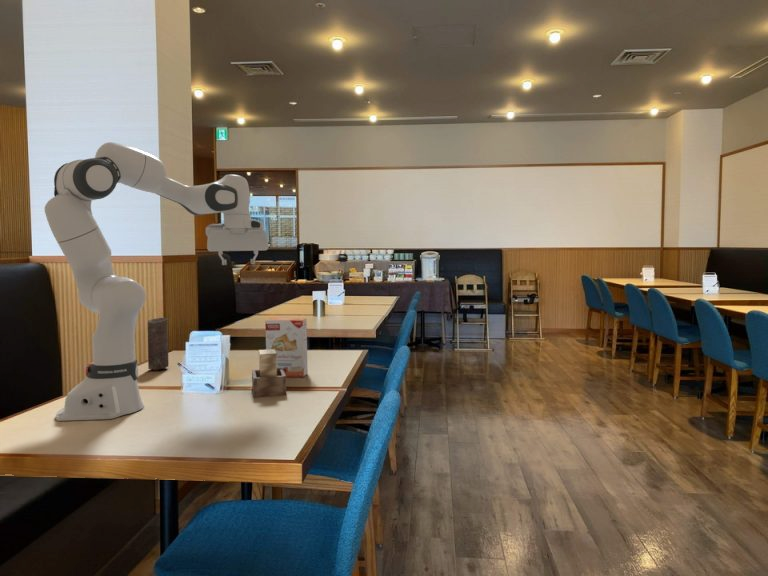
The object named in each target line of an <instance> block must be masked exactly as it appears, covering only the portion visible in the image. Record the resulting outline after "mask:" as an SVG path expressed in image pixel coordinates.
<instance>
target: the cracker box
mask: <svg viewBox="0 0 768 576" xmlns="http://www.w3.org/2000/svg"><path fill="white" fill-rule="evenodd" d="M307 327H308V326H307V318H290V317H289V318H288V317H287V318H286V317H285V318H284V317H283V318H282V317H280V318H278V317H277V318H273V317H271V318H268V319H266V320H265V350H268V349H274V350H275V352H276V367H277V368H282V369H283V371H284V373H285V375H286V378H304V377H305V376H307V375H308V370H309V369H308V336H307V335H308V333H307V332H308V331H307V330H308V329H307Z"/></svg>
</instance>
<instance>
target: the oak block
mask: <svg viewBox="0 0 768 576" xmlns="http://www.w3.org/2000/svg"><path fill="white" fill-rule="evenodd" d="M258 365H259V369H258V370H259V371H260V377H271V376H277V367H276V352H275V350H274V349H268V350H266V349H258Z"/></svg>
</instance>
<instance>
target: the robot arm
mask: <svg viewBox="0 0 768 576" xmlns="http://www.w3.org/2000/svg"><path fill="white" fill-rule="evenodd" d="M53 183H54V188H53V190H54V191H53V195H54V197H52V198H50V199H49V200H48V201H47V202H46V204H45V205H44V214H45V217H46V221H47V224H48V226H49V228H50V230H51V232H52V235H53V237H54V238H55V240H56V242H57V244H58V246H59V248H60V250H61V251H62V253H63V255H64V257H65V258H66V261H67V263H68V264H69V267H70V269H71V270H72V274H73V278H74V280H75V283H76V288H77V298H78V301H79V303H80V304H81V305H82V306H83V307H84V308H85V309H87V310H88V311H90V312H92V313H95V314H98V320H97V325H96V328H95V331H94V333H93V335H92V338H91V344H92V345H91V346H92V362H89V363H88V364H87V365H86V367H85V370H84V371H85V372H84V373H85V376H86V377H85V378H84V379H83V380H82V381H80V382H79V383H78V384H77V385H76V386H74V387H73V388H72V389H71V390H70V391H69V392H68V393H67V394H66V397H65V401H64V407H62V408H61V409H59V410H58V411H57V412H56V414H55V420H56V421H58V422H59V421H60V422H61V421H62V422H65V421H91V420H112V419H116V418H119V417H121V416H125V415H128V414H133V413H135V412H138V411H140V410H142V409H143V408H144V403H143V401H142V397H141V393H140V389H139V384H138V377H139V367H138V366H139V365H138V360H137V359H136V342H135V335H136V327H137V322H138V318H139V314H140V311H141V310H142V308H144V305H145V304H146V300H147V294H146V290H145V288H144V287H143V285H142V284H140V282H137V281H136V280H134V279H132V278H129V277H126V276H117V275H116V274H115V272H114V268H113V264H112V259H111V257H112V249H111V247H110V246H109V244H108V242H107V240H106V238H105V236H104V234H103V233H102V230H101V228H100V227H99V224H98V223H97V221H96V219H95V218H94V216H93V213H92V212H93V211H92V202H93V201H96V200H101V199H104V198H106V197H108V196H109V195H110V194H112V193H113V191H114V190H115V189H116V187H117V184H121V185H125V186H128V187H130V188H133V189H135V190H139V191H142V192H143V191H144V192H148V193H151V194H156V195H157V196H160V197H162V198H165V199H167V200H169V201H172V202H174V203H177V204H179V205H180V206H181V207H183V209H185V210H186V211H187V212H188V213H189V214H191V215H194V216H199V217H200V216H203V215H208V214H209V215H210V214H217V213H223V223H217V224H216V223H209V224H208V225H206V227H205V231H204V232H205V236H206V237H207V244H206V249H207V250H208V252H218V256H219V258H220V260H221V265H222V266H227V265H228V263H227V259H225V258H224V257H223V256H222V255H223V253H224V252H242V251H243V252H245V251H246V252H247V251H248V252H249V251H250V252H252V251H253V254H254V256H253V258H250V265H256V258H257V257H258V255H259V252H260V251H268V249H269V240H268V239H269V238H268V235H267V234H268V233H267V231H266V230H265V229H264V228H265V224H264V222H263V221H260V220H257V219H253V218H252V217H251V211H250V202H251V199H250V198H251V195H250V194H251V193H250V188H249V183H248V181H247V179H246V178H245V177H244V176H242V175H239V174H232V173H230V174H225V175H224V176H223V177H222V178H220V179H217V180H216V181H213V182H210V183H205V184H199V185H185V184H183V183H181V182H179V181H177V180H174V179H172V178H170V177H168V176H167V169H166V166H165V163H164V162H163V161H162V160H160V159H159V158H157V156H154V155H152V154H151V153H148V152H145V151H143V150H141V149H138V148H136V147H132V146H129V145H126V144H121V143H117V142H105V143H103V144H102V145H101V146H99V148H98V149H97V150H96V152H95V156H94V157H92V158H87V159H76V160H72V161H70V162H66V163H64V164H62V165H61V166H59V168H58V169H56V171H55V174H54V177H53Z"/></svg>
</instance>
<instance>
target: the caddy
mask: <svg viewBox="0 0 768 576" xmlns="http://www.w3.org/2000/svg"><path fill="white" fill-rule="evenodd" d="M251 382H252V384H251V385H252V388H251V389H252V394H253V398H265V397H276V396H286V395H287V377H286V375H285V373H284V371H283V369H282V368H277V376H271V377H260V371H259V369H252V370H251Z"/></svg>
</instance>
